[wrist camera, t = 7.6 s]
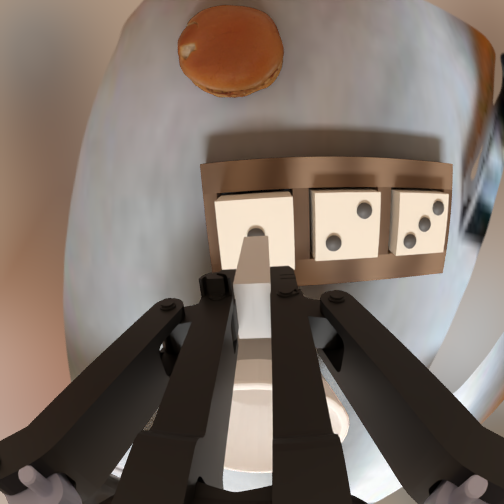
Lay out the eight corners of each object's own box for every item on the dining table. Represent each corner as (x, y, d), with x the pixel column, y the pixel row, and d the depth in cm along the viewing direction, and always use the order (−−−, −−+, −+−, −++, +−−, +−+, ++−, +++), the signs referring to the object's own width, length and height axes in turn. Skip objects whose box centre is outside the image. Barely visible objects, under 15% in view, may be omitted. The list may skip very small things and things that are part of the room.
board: (218, 279, 29) (214, 289, 27) (205, 163, 25) (200, 164, 23) (432, 264, 28) (442, 272, 25) (440, 162, 24) (452, 164, 21)
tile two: (309, 248, 27) (315, 262, 24) (308, 188, 25) (315, 193, 22) (365, 245, 27) (378, 258, 24) (366, 187, 25) (381, 192, 22)
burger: (300, 71, 22) (307, 56, 17) (216, 117, 24) (206, 109, 19) (247, 4, 19) (243, -18, 15) (168, 48, 21) (152, 31, 17)
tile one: (227, 258, 26) (222, 274, 23) (221, 195, 24) (214, 202, 21) (290, 254, 26) (295, 270, 23) (288, 191, 24) (293, 197, 21)
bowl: (173, 392, 36) (155, 449, 26) (211, 289, 30) (189, 353, 20) (291, 424, 38) (294, 480, 28) (360, 340, 31) (387, 403, 21)
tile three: (382, 244, 27) (396, 256, 23) (384, 187, 25) (401, 192, 21) (426, 241, 27) (444, 252, 23) (430, 188, 25) (450, 194, 21)
